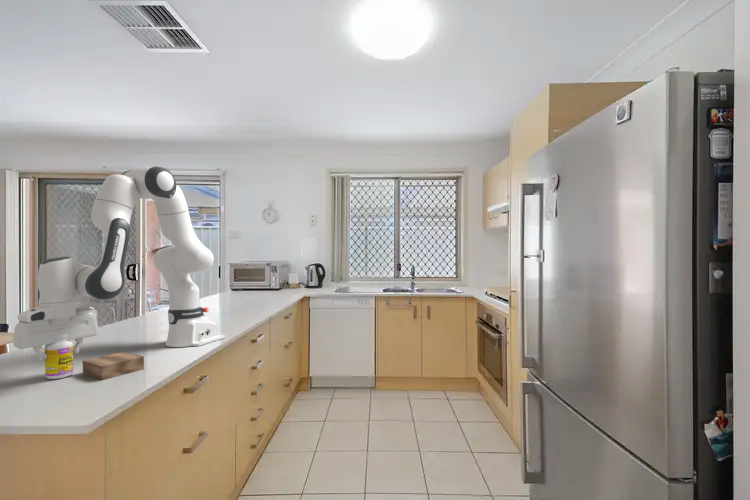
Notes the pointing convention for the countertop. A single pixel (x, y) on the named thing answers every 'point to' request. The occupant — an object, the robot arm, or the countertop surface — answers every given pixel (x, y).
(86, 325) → the robot arm
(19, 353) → the countertop surface
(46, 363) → the supplement bottle
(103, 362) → the walnut base
